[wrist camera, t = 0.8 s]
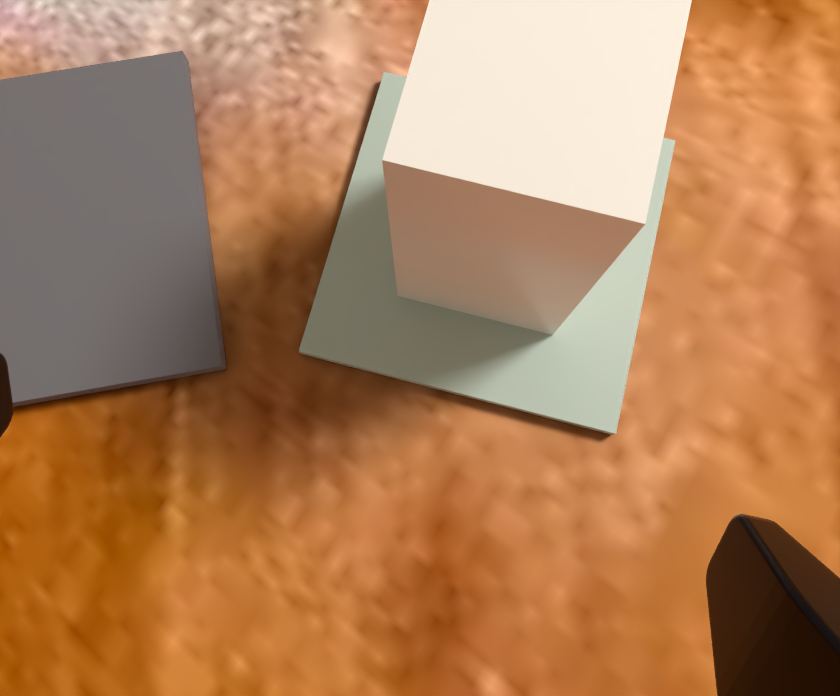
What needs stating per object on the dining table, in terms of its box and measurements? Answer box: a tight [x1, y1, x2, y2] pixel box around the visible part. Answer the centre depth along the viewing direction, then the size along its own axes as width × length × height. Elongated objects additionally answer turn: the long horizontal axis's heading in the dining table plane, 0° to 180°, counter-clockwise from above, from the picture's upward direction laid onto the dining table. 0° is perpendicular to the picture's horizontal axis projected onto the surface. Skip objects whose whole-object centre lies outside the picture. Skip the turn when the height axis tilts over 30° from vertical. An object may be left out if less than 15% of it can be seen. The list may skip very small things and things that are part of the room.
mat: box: [0, 51, 227, 407], centre depth 22 cm, size 11×10×1 cm
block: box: [382, 0, 692, 335], centre depth 18 cm, size 5×5×9 cm
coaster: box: [299, 72, 675, 435], centre depth 21 cm, size 10×10×4 cm
